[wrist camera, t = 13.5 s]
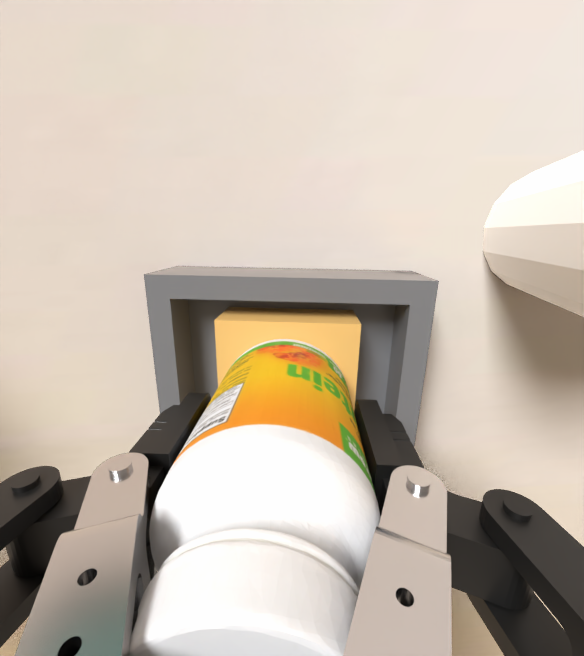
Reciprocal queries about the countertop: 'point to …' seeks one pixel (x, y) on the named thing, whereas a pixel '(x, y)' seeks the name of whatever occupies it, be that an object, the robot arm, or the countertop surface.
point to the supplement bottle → (262, 517)
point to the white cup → (541, 234)
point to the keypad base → (295, 293)
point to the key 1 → (290, 335)
